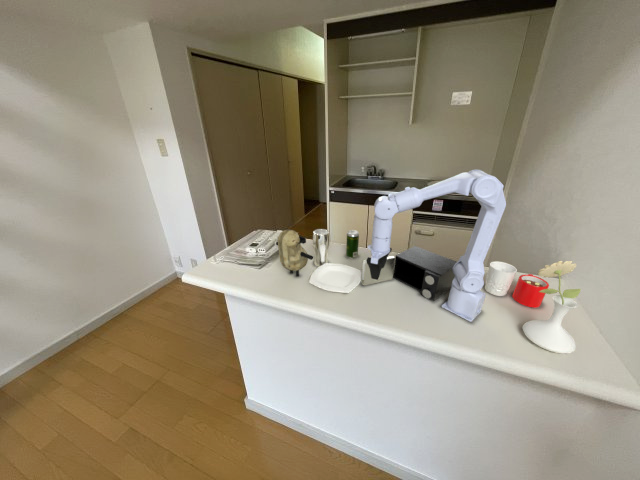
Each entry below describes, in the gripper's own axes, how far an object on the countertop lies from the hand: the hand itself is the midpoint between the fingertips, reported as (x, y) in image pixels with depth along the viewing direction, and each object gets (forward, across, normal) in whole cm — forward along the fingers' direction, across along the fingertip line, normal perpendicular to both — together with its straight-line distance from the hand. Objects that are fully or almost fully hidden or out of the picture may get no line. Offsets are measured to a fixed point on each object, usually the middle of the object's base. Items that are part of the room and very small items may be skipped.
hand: (377, 272), depth 85 cm
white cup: (+11, -23, +38) cm, 46 cm away
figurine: (+11, -1, -34) cm, 35 cm away
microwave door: (+10, -12, -4) cm, 16 cm away
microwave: (+10, -17, +13) cm, 24 cm away
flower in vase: (+11, -2, +47) cm, 48 cm away
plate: (+11, -4, -17) cm, 20 cm away
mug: (+11, -23, +47) cm, 54 cm away
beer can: (+11, -26, -18) cm, 33 cm away
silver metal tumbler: (+11, -14, -28) cm, 33 cm away
